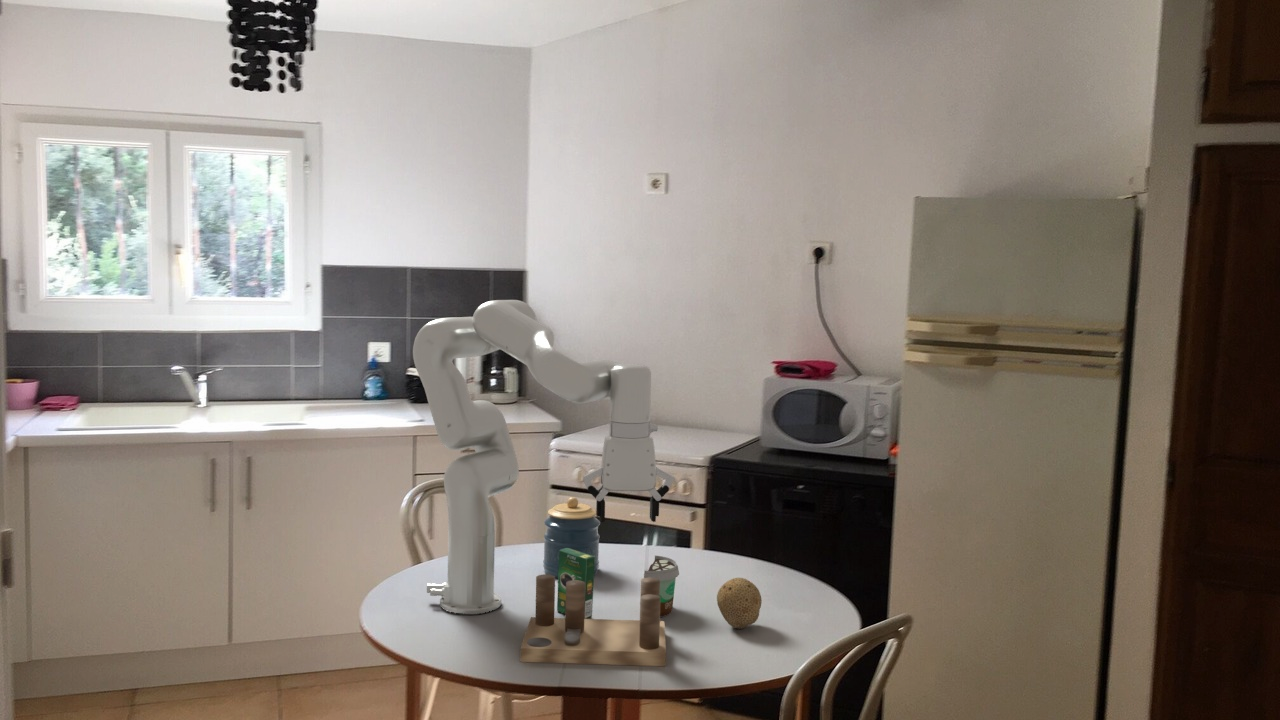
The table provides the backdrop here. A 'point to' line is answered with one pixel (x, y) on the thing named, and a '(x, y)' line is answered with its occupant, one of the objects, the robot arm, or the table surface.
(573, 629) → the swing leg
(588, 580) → the coffee box
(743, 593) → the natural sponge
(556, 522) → the canister
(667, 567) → the food container
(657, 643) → the wooden peg board
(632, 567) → the table surface
